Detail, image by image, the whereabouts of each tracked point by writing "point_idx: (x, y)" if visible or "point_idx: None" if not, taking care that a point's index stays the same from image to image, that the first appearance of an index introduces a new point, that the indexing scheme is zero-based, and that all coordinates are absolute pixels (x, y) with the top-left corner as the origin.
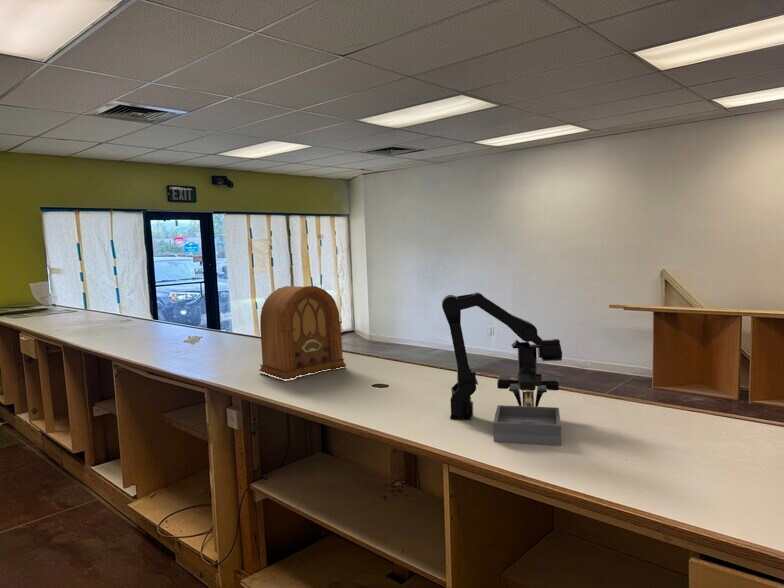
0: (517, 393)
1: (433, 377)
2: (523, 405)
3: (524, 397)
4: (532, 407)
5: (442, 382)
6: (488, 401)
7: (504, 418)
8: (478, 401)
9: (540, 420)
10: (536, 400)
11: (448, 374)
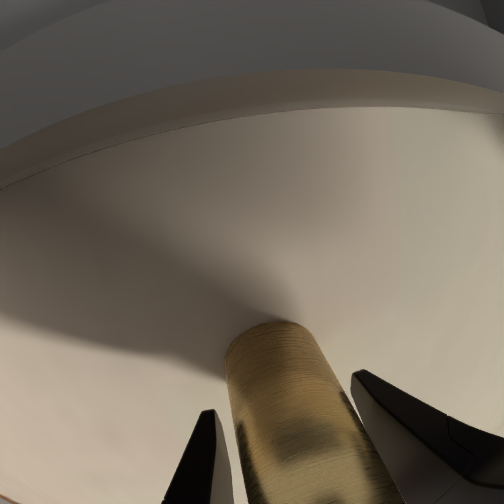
0: (501, 469)
1: None
2: (350, 405)
3: (383, 486)
4: (113, 11)
5: None
6: (456, 416)
7: (463, 5)
8: (484, 395)
9: (43, 3)
10: (202, 499)
11: None
